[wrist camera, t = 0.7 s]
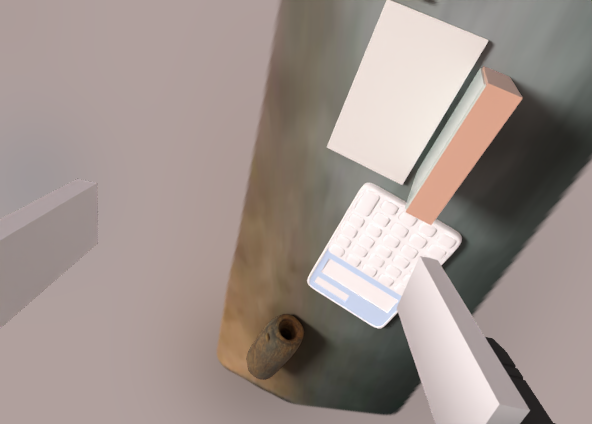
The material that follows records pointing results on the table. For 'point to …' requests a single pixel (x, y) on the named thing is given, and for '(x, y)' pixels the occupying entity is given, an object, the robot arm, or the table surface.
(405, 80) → the white rectangular slab
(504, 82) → the terracotta tile
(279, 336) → the stone weight
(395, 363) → the table surface
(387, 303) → the calculator
